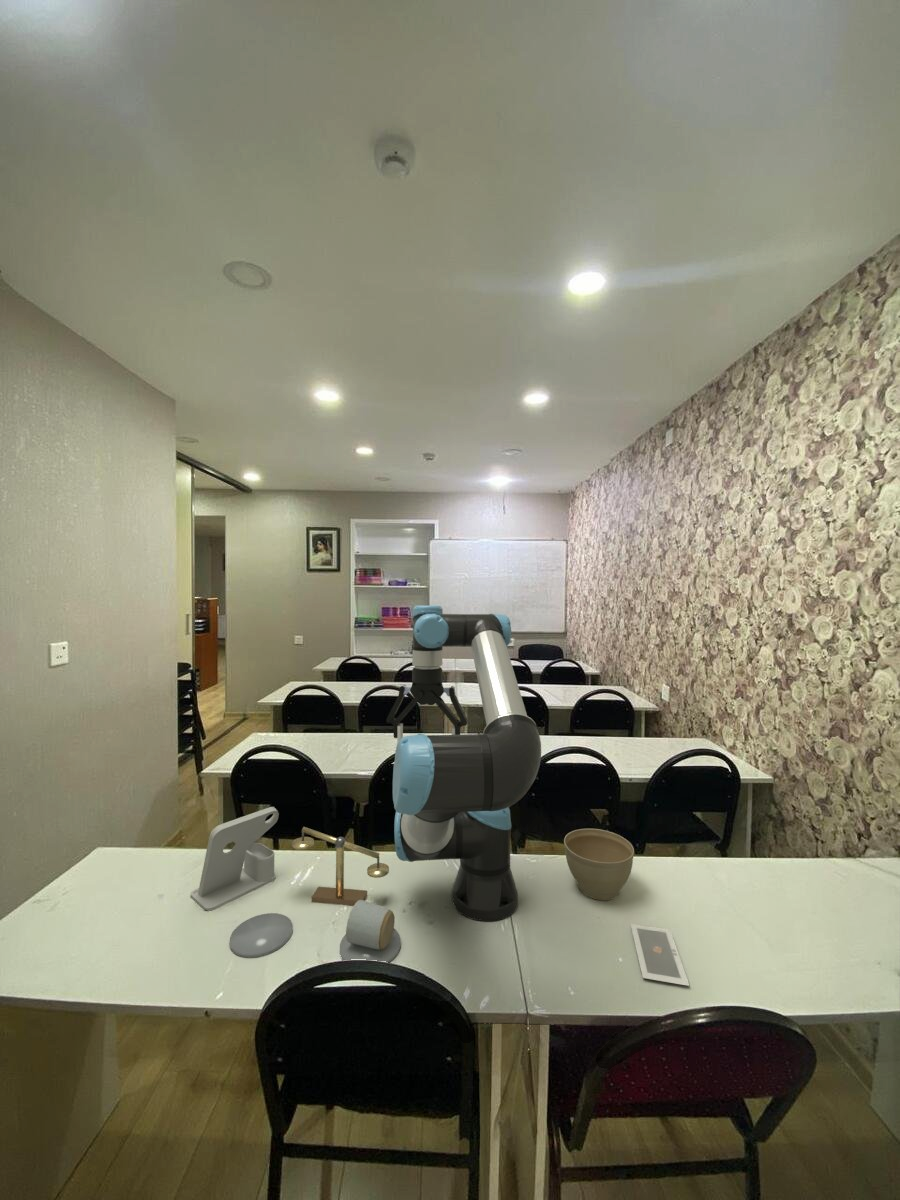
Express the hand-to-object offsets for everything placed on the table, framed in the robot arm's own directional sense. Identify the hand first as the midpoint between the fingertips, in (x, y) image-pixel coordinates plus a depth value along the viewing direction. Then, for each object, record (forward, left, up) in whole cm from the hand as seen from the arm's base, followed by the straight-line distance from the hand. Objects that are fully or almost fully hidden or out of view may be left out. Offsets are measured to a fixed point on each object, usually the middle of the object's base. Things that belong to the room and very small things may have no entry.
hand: (426, 752), depth 118 cm
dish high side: (+30, +24, -32) cm, 50 cm away
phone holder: (+45, +9, -32) cm, 56 cm away
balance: (+19, +10, -32) cm, 38 cm away
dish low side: (+7, +24, -32) cm, 40 cm away
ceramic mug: (+7, +23, -31) cm, 39 cm away
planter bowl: (-42, -2, -32) cm, 53 cm away
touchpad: (-49, +19, -32) cm, 62 cm away
